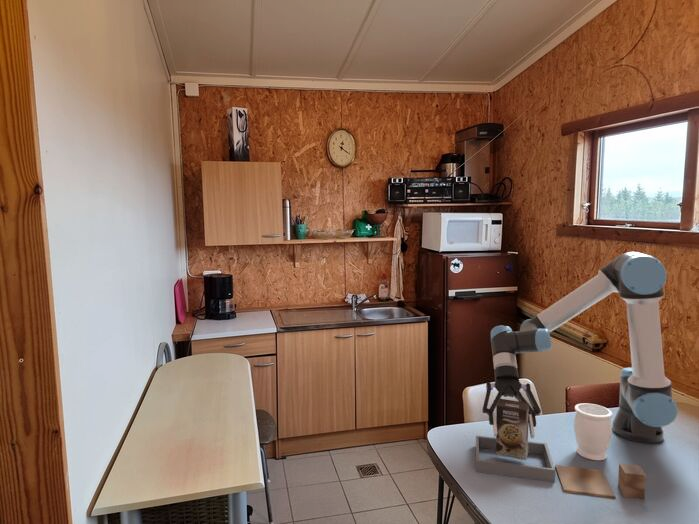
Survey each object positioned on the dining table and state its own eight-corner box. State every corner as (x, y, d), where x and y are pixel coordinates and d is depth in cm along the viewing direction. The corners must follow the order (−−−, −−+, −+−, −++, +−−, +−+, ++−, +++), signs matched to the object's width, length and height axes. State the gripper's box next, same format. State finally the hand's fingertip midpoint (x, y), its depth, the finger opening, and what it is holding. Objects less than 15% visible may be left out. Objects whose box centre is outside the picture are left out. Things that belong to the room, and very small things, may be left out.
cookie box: (495, 454, 142) (495, 405, 140) (499, 445, 148) (498, 397, 146) (526, 461, 138) (526, 410, 136) (528, 451, 143) (529, 402, 142)
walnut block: (637, 489, 128) (639, 465, 127) (644, 499, 123) (645, 475, 122) (618, 486, 129) (619, 463, 128) (623, 497, 124) (625, 473, 123)
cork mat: (602, 472, 136) (602, 470, 136) (615, 498, 123) (615, 496, 123) (555, 466, 139) (555, 464, 139) (563, 491, 127) (563, 489, 127)
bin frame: (546, 453, 147) (546, 443, 146) (555, 481, 131) (555, 470, 131) (475, 445, 152) (475, 435, 152) (476, 471, 137) (476, 460, 137)
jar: (568, 454, 146) (570, 410, 144) (578, 442, 153) (580, 400, 152) (605, 466, 139) (607, 419, 137) (614, 453, 146) (616, 408, 145)
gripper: (539, 375, 154) (551, 442, 140) (470, 373, 158) (475, 438, 144) (543, 365, 148) (555, 433, 134) (471, 363, 152) (476, 429, 138)
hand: (514, 436), depth 139 cm, fingers closed on cookie box, 10 cm apart
